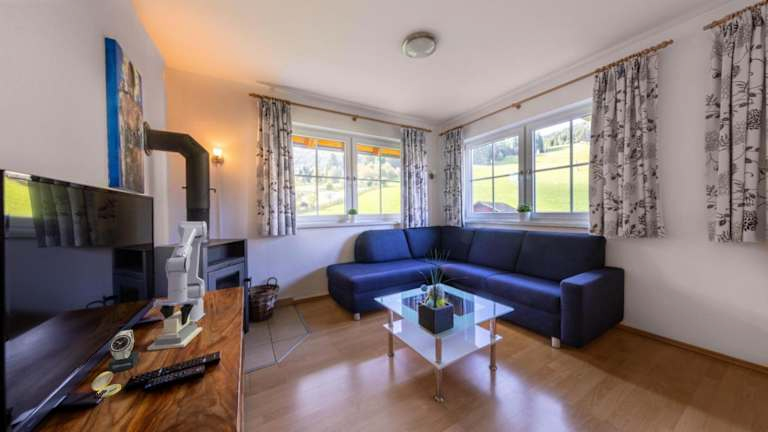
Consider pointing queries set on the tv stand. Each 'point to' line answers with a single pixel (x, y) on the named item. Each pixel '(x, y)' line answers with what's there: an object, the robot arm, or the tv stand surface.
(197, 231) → the robot arm
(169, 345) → the display stand
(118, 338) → the watch
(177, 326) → the cream rectangular box
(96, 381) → the gold round case
